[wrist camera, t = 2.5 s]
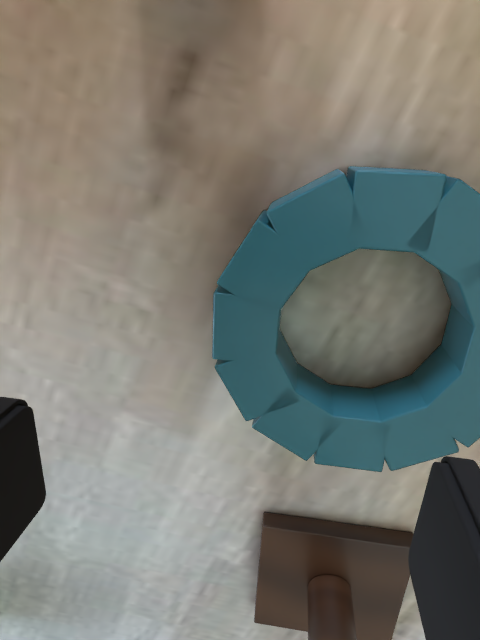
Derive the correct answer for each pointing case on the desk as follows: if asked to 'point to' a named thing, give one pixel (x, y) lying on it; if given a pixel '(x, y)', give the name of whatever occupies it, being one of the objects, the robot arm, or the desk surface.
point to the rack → (331, 578)
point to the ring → (327, 245)
